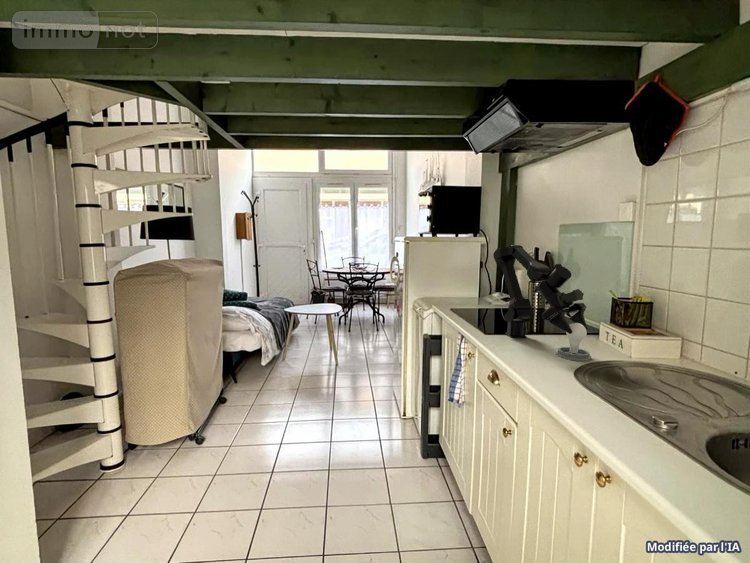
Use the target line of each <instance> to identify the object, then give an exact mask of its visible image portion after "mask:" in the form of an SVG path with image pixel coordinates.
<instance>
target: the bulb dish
mask: <svg viewBox="0 0 750 563" xmlns="http://www.w3.org/2000/svg"><path fill="white" fill-rule="evenodd" d="M569 350H570V346H561V347H558V348H557V350H556V351H555V355H556V356H557V357H559V358H561V359H564V358H565V359H564V360H568V359H569V360H570V361H576V362H587V361H591V359H592V356H591V355H590V352H589V351H588V350H587V349H582V348H578V353H576V354H572V353H571V352H569ZM569 360H568V361H569Z"/></svg>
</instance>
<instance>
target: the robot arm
mask: <svg viewBox="0 0 750 563" xmlns="http://www.w3.org/2000/svg"><path fill="white" fill-rule="evenodd" d="M493 259H494V262H495V263H496V265H497V266H498V267H499V269H501V271H502V274H503V279H504V282H505V285H506V288H507V292H508V296H509V299H510V300H509V304H508V310H507V312H505V314H504V317H503V318H504V321H505V322H507V330H506V332H505V335H506V336H509V337H510V338H512V339H513V338H514V339H515V338H517V339H518V338H519V339H521V338H528V337H527V328H528V327H527V323H530V320H531V317H532V315H533V307H532V305H531V300H530V299H529V298H525V297H524V296H523V292H522V290H521V287H520V283H519V280H518V276H517V272H516V269H515V266H514V265H515V263H516V260H517V261H518V263H519V264H520V265H522V267H523V268H524V269H525V270H526V275H527V277H528V279H529V280H530V281H531V282H533V283H539V284H537V285H535V286H534V290H533V291H534V294H537V293H540V294H541V296H542V297H543V299H544V300H545V302H544V304H545V306H546V305H548V306H549V307H548V308H546V310H544V311H543V312H542V313H541V318H542V320H543V321H544V322H547V323H549V324H552V325H553V326H556V327H557V328H559V329H561V330H562V331H563V332H567V333H569V334H571V333H573V332H572V330H571V328H570V326H569V325H570V324H569V323H568V321H567V319H566V318H565V316H567V317H568V318H569V320H570V321H572V322H573V323H580V324H582V325H583V326H584V327H585V328H586V331H588V330H589V328H588V326H587V322H586V320H585V316H584V314H585V312H586V309H587V305H586V304H585V303H584V302H577V301H582V300H584V298H583V297H584V295H585V293H584V292H583V291H582V290H580V289H579V288H577V289H574V290H572V291H570V292H568V293H566V292H561V291H560V290H559V289H560V288H561V287H563V286H564V285H565V284H566V283H567V282H568V280H569V281H570V279H571V277H572V272H571V270H569V269H568V268H566V267H565V266H563V264H561V263H556V264H554V266H553V267H552V269H551V268H550V266H548V265H546V264H544V263H541V262H538V261H537V260H536V259H535V258H534V257H532V255H531V254H529V252H527V251H526V250H525V249H524V247H523V245H521V244H511V245H508V246H505V247H502V248H501V247H499V248H497V249H495V251H494V252H493ZM574 302H575V303H574Z"/></svg>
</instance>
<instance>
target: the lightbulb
mask: <svg viewBox="0 0 750 563" xmlns="http://www.w3.org/2000/svg"><path fill="white" fill-rule="evenodd" d="M569 326H570V328H571V330H572V332H573V333H571V334H569V333H567V332H566V331H565V332H566V337H567V338H568V341H569V342H568V343H569V347H570V350H569V352H571V353H572V354H576V353H578V348H579V347H580V345H581V343H582V341H583V340H585V338H586V337H587V333H588V332H587V331H588V330H587V331H586V328H585V327H584V326H583V325H582V324H580V323H574V322H573V323H570V324H569ZM579 349H580V348H579Z"/></svg>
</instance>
